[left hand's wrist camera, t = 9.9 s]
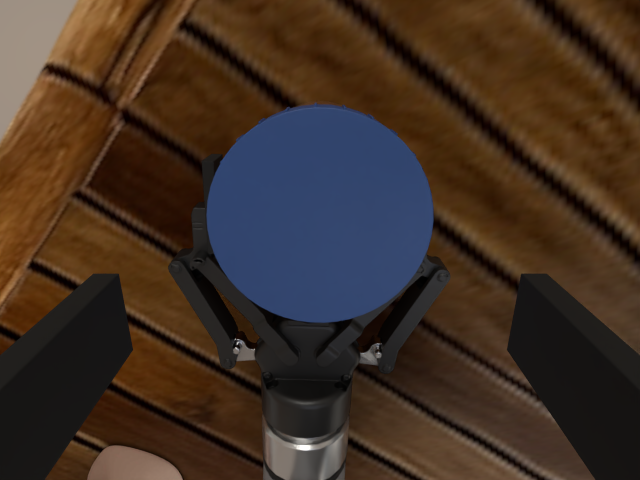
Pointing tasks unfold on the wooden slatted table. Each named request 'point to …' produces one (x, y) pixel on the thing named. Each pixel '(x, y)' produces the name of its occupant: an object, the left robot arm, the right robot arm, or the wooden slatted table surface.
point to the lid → (319, 214)
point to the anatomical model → (131, 465)
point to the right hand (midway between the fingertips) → (313, 160)
